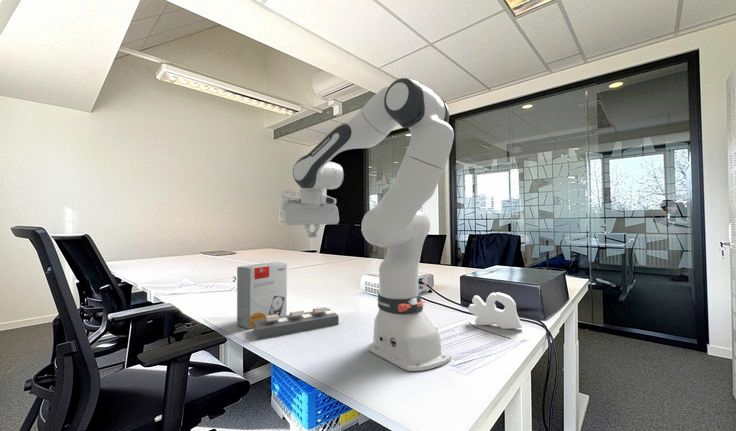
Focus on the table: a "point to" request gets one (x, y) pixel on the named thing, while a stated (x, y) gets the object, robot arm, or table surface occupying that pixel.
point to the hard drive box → (261, 292)
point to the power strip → (294, 324)
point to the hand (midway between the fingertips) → (312, 237)
